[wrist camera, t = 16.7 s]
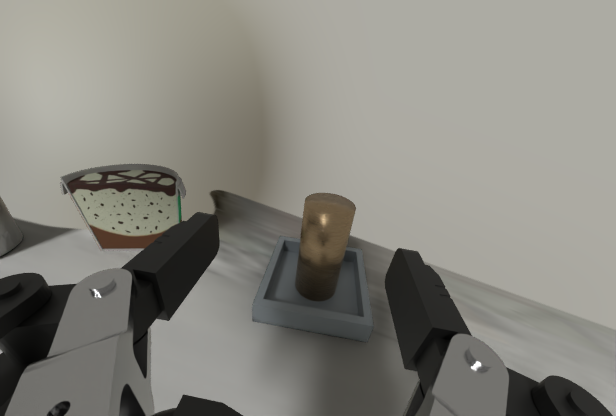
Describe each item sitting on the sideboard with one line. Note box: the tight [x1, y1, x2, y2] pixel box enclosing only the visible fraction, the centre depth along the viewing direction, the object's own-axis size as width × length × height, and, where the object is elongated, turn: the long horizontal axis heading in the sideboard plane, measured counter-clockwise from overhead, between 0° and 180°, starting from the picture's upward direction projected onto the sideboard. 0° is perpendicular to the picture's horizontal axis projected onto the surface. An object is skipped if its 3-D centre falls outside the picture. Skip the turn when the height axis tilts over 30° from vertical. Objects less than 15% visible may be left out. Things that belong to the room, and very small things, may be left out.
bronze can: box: [295, 193, 356, 301], centre depth 24 cm, size 5×5×11 cm
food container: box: [60, 164, 186, 251], centre depth 30 cm, size 12×6×10 cm, turn 99°
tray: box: [252, 236, 374, 342], centre depth 27 cm, size 12×12×2 cm
